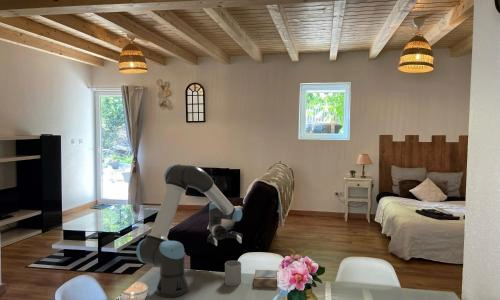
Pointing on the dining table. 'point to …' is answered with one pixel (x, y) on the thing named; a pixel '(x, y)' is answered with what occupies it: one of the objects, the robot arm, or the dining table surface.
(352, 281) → the dining table surface
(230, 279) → the cup
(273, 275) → the plinth
